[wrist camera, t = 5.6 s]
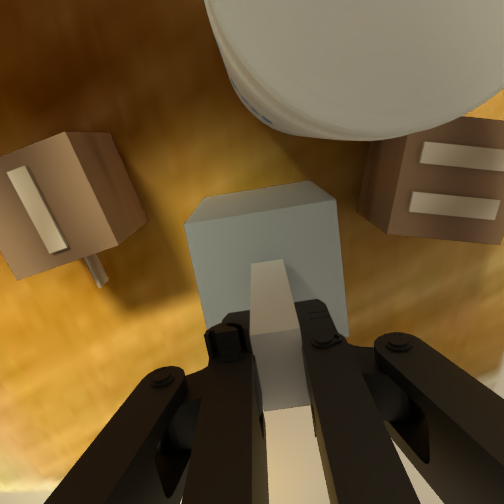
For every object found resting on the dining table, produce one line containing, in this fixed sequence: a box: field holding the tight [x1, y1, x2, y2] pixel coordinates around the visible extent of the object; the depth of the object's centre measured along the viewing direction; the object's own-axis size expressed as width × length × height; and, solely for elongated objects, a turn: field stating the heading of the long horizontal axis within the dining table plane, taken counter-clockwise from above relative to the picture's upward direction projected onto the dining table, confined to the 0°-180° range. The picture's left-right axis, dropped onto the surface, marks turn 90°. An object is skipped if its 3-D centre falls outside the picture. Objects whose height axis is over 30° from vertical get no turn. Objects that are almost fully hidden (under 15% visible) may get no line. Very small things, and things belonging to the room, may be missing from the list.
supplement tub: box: [204, 0, 504, 141], centre depth 15 cm, size 10×10×15 cm
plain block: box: [184, 180, 349, 337], centre depth 22 cm, size 7×7×8 cm
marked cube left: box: [0, 131, 148, 288], centre depth 22 cm, size 6×8×6 cm
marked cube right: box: [357, 116, 504, 245], centre depth 21 cm, size 6×6×6 cm
